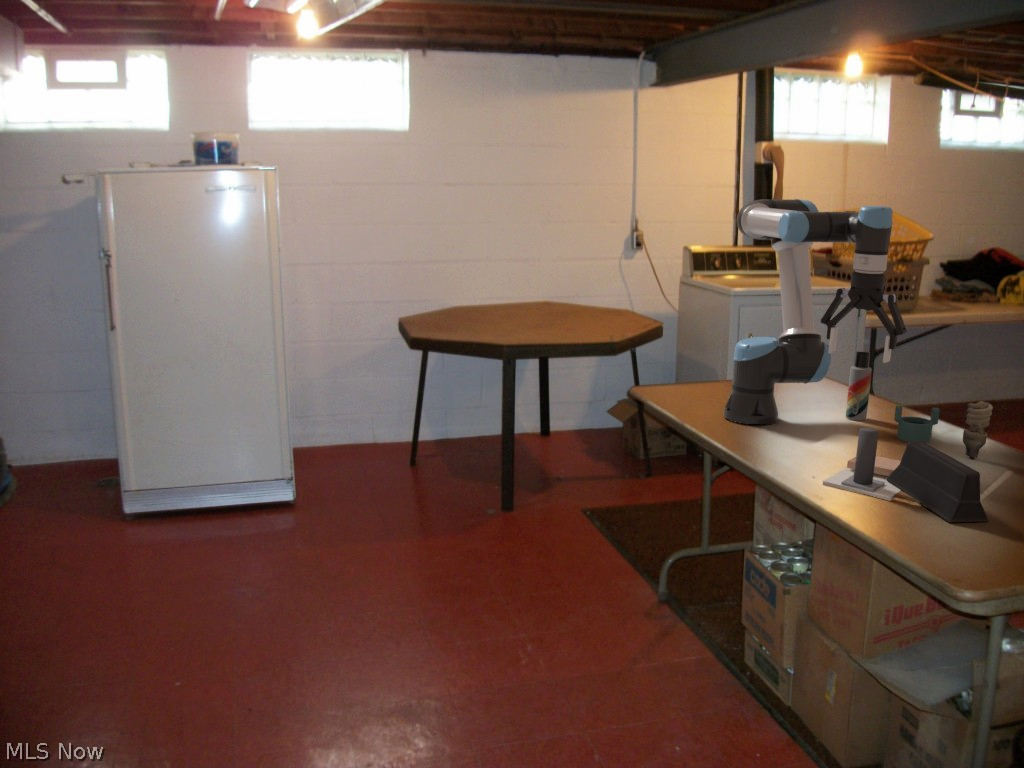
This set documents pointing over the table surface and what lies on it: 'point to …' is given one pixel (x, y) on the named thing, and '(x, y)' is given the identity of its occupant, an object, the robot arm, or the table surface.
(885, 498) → the board
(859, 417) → the lotion bottle
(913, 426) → the bracket
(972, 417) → the light bulb
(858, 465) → the tool handle
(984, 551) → the table surface
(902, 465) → the barrier
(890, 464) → the tile
